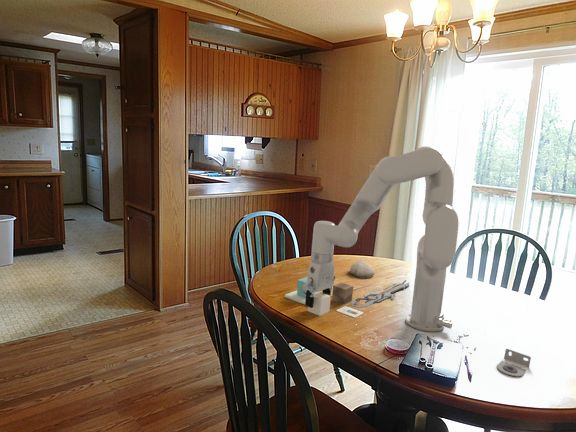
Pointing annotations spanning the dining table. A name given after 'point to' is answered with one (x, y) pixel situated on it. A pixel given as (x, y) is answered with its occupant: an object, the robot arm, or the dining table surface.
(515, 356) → the bracket
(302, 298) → the baseplate
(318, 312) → the cream brick
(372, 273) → the stone
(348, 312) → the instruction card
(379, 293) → the gun
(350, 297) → the walnut brick
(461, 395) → the dining table surface
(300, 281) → the teal brick
